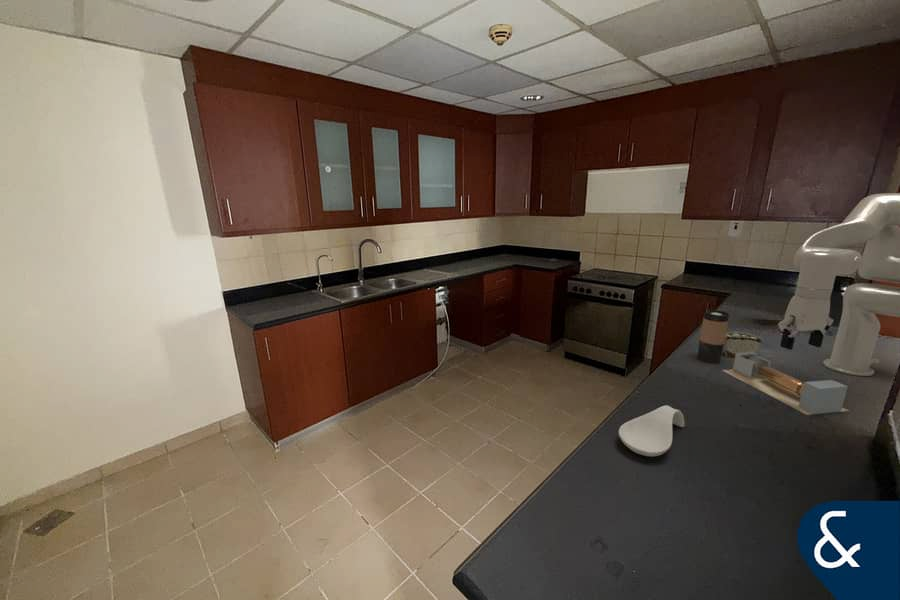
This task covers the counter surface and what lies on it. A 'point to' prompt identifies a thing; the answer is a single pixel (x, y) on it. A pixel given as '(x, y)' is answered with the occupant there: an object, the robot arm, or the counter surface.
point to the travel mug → (712, 336)
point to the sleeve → (749, 365)
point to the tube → (781, 379)
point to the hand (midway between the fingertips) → (800, 346)
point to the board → (774, 391)
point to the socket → (823, 396)
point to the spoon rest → (651, 431)
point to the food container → (741, 343)
